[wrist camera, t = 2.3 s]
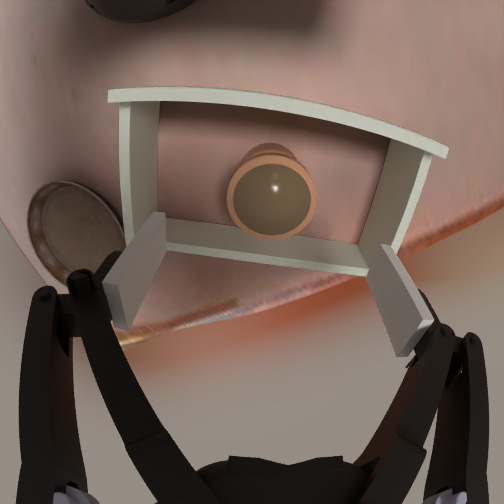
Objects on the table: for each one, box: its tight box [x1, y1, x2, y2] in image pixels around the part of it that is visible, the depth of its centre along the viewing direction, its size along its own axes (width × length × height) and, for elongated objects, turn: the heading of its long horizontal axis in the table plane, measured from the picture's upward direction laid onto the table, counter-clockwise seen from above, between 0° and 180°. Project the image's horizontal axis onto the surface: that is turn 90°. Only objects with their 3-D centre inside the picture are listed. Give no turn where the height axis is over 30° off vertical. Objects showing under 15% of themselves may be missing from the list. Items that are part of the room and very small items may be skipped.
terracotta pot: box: [227, 143, 317, 240], centre depth 24 cm, size 7×7×8 cm
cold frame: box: [108, 86, 449, 276], centre depth 24 cm, size 16×26×9 cm, turn 82°
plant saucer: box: [27, 180, 126, 287], centre depth 32 cm, size 18×18×3 cm
